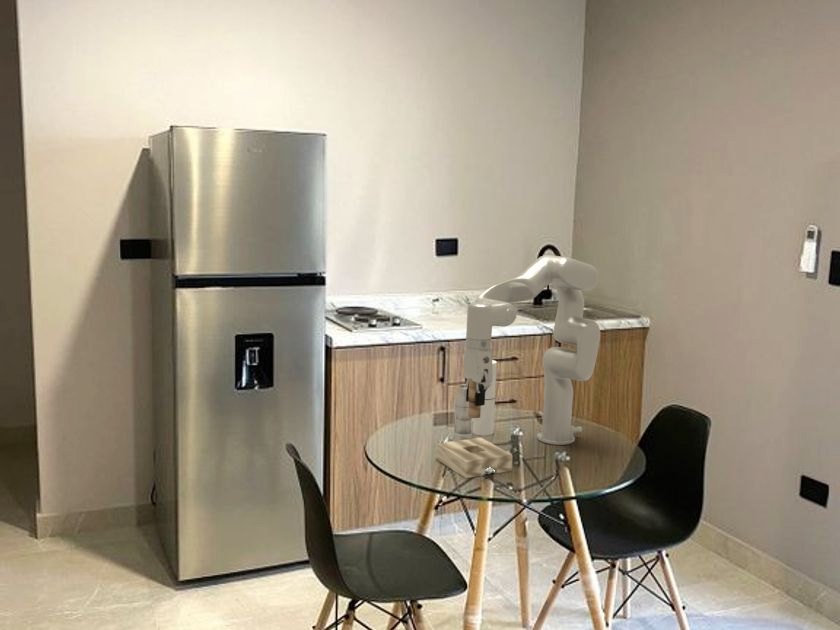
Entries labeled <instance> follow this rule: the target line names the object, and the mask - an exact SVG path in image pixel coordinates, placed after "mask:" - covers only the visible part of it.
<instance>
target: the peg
mask: <svg viewBox="0 0 840 630" xmlns="http://www.w3.org/2000/svg"><path fill="white" fill-rule="evenodd" d="M481 382H483V380H481ZM481 386H482V384H480V387H481ZM475 393H477V391H476V382H474V381H472V379H471V378H470V379H469V394H468V397H469V399H468V402H469V413H468V417H470V418H472V419H473V418H480V412H481V406H475Z"/></svg>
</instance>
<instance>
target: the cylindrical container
mask: <svg viewBox="0 0 840 630" xmlns="http://www.w3.org/2000/svg"><path fill="white" fill-rule="evenodd" d="M497 363H498V361H496V360H494V359H492V368H493V370H492V382H490V384H491V386H490V387H489V388H488V389H487V390H486V393H485V404H484V405H482V406H481V412H480V418H472V434H474V435H477V436H483V437H484V436H491V435H493V434H494V425H495V424H494V423H495V406H496V403H495V402H496V384H497V382H496V381H497V366H498V365H497Z"/></svg>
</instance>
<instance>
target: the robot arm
mask: <svg viewBox="0 0 840 630" xmlns="http://www.w3.org/2000/svg"><path fill="white" fill-rule="evenodd" d="M598 283H599V272H598V270H597V268H596V267H595V266H593V265H592V264H590V263H587V262H583V261H580V260H577V259H574V258H571V257H567V256H559V255H554V254H553V255H552V254H551V255H550V254H544V255H542V256H539V257H538V258H537V259H536V260H534V261H533V262H532V263H531V264H529V266H528V267H526V268H525V269H524V270H523V271H522V272H521V273H519V274H518V276H516V277H514V278H510V279H508V280H507V279H506V280H505V281H503V282H499V283H498V284H495V285H493V286H491V287H489V288H488V289H486V290H485V291H484V292H483V293H482V294H480V295H479V297H477V298H476V300H475V301H474V302H470V303H469V304H468V305H467V313H466V317H467V318H466V332H465V333H466V334H465V335H466V336H465V351H464V357H463V369H462V371H463V372H462V373H463V374H462V377H463V379H464V382H465V385H466V388H468V389H467V390H466V401H467V402H468V399H469V397H468V394H469V379H470V378H471V379H472V381H474V382H476V391H477V393H475V406H482V405H484V404H485V393H486V390H487V389H488V388H489V387H490V386H491V384H490V382H492V370H493V368H492V360H493V353H492V350H491V349H492V333H493V332H492V331H493V327H509V326H510V325H512V324H513V323H514V322H515V321H516V319H517V315H518V313H517V309H516V307H515V306H514V304H512V303H519V302H525V301H526V302H527V301H530V300H533V299H535V298H536V297H538V295H539V294H541V292H542V291H544V290H545V288H547V287H548V286H549V285H550V284H553V286H554V288H555V290H556V292H557V296H558V304H557V309H556V316H555V320H554V326H553V330H552V331H553V334H552V335H553V338H554V340H555V341H557V342H558V343H561V344H565V345H567V346H568V345H569V346H573V347H577V350H575V349H572V348H567V347H563V346H553V347H549V348H548V349H547V350H545V352H544V355H543V357H542V366H543V367H542V369H543V374H544V375H543V376H544V389H543V390H544V391H543V408H542V423H541V424H542V425H541V431H540V432H538V433H537V434H536V439H537V440H538V441H540V442H542V443H545V444H547V445H548V444H550V445H555V446H557V445H559V446H560V445H561V446H562V445H563V446H564V445H570V444H573V443H575V440H576V438H575V435H574V434H575V433H581V432H582V431H583V427H582V426H574V425H572V416H573V415H572V414H573V413H572V411H573V399H574V387H573V383H572V380H574V381H578V382H586V381H588V380H589V379H590V378H591V377H592V375H593V373H594V370H595V367H596V366H595V365H596V362H597V357H598V352H599V348H600V347H599V346H600V342H601V328H600V326H599V324H598V323H597V322H596V321H595V320H592V319H590V318H584V317H583V316H584V309H585V298H584V295H583V292H582V291H584V292H585V291H586V292H587V291H588V292H589V291H592V290H594V289H595V287H597V285H598ZM481 380H483V382H481ZM480 384H482V386H481V387H480Z"/></svg>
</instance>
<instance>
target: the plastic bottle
mask: <svg viewBox="0 0 840 630" xmlns="http://www.w3.org/2000/svg"><path fill="white" fill-rule="evenodd" d="M467 389H468V388H466V384H461V385H459V387H458V392H459V393H458V394H457V396H455V399H454V401H453V402H454V413H455V417H454V418H455V420H454V421H455V423H454V430H453V433H452V434H453V435H452V441H460V440H467V439H474V438H473V427H472V421H473V418H470V417H468V413H469V402H467V401H466V390H467Z"/></svg>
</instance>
